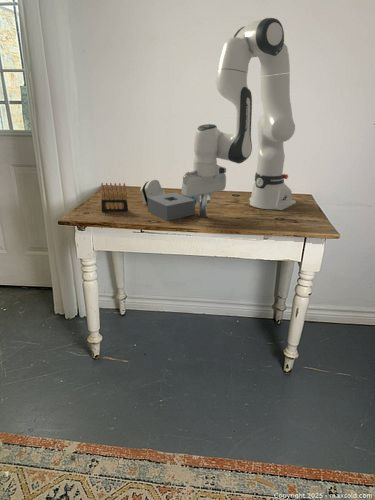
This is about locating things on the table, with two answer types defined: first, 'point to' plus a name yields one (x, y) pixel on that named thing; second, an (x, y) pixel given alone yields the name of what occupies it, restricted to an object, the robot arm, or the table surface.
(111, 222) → the table surface
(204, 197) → the steel pin
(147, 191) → the hinge
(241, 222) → the table surface
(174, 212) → the pin block
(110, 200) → the ammunition clip
